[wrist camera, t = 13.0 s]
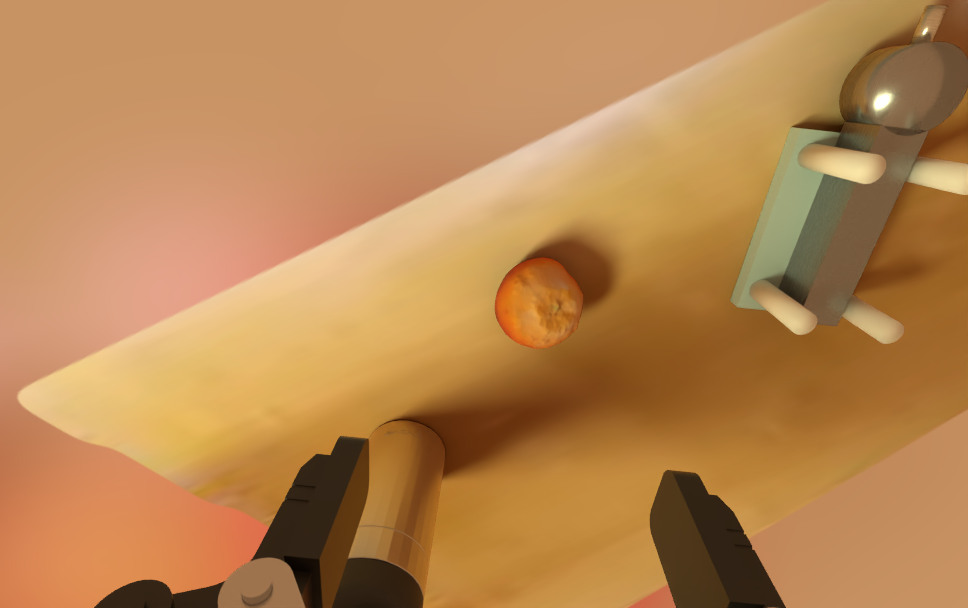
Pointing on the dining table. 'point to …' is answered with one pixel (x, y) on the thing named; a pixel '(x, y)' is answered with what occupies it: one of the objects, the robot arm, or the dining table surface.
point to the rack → (788, 211)
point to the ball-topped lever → (878, 130)
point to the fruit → (538, 303)
